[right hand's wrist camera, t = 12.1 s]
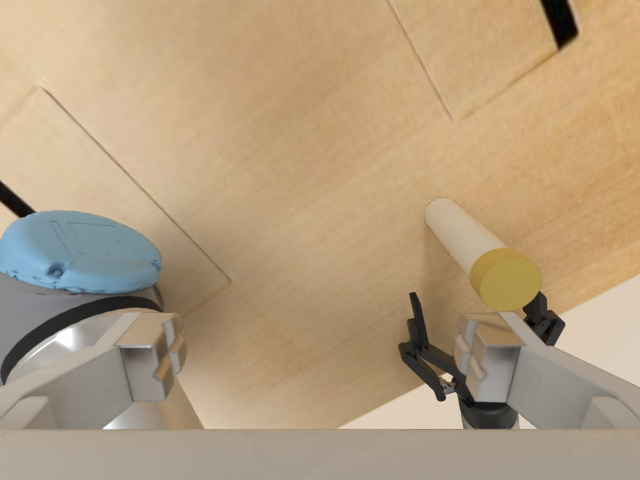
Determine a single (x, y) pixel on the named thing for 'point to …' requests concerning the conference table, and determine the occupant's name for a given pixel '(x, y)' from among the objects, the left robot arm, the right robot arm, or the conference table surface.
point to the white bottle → (459, 232)
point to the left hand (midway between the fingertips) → (470, 284)
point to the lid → (505, 279)
